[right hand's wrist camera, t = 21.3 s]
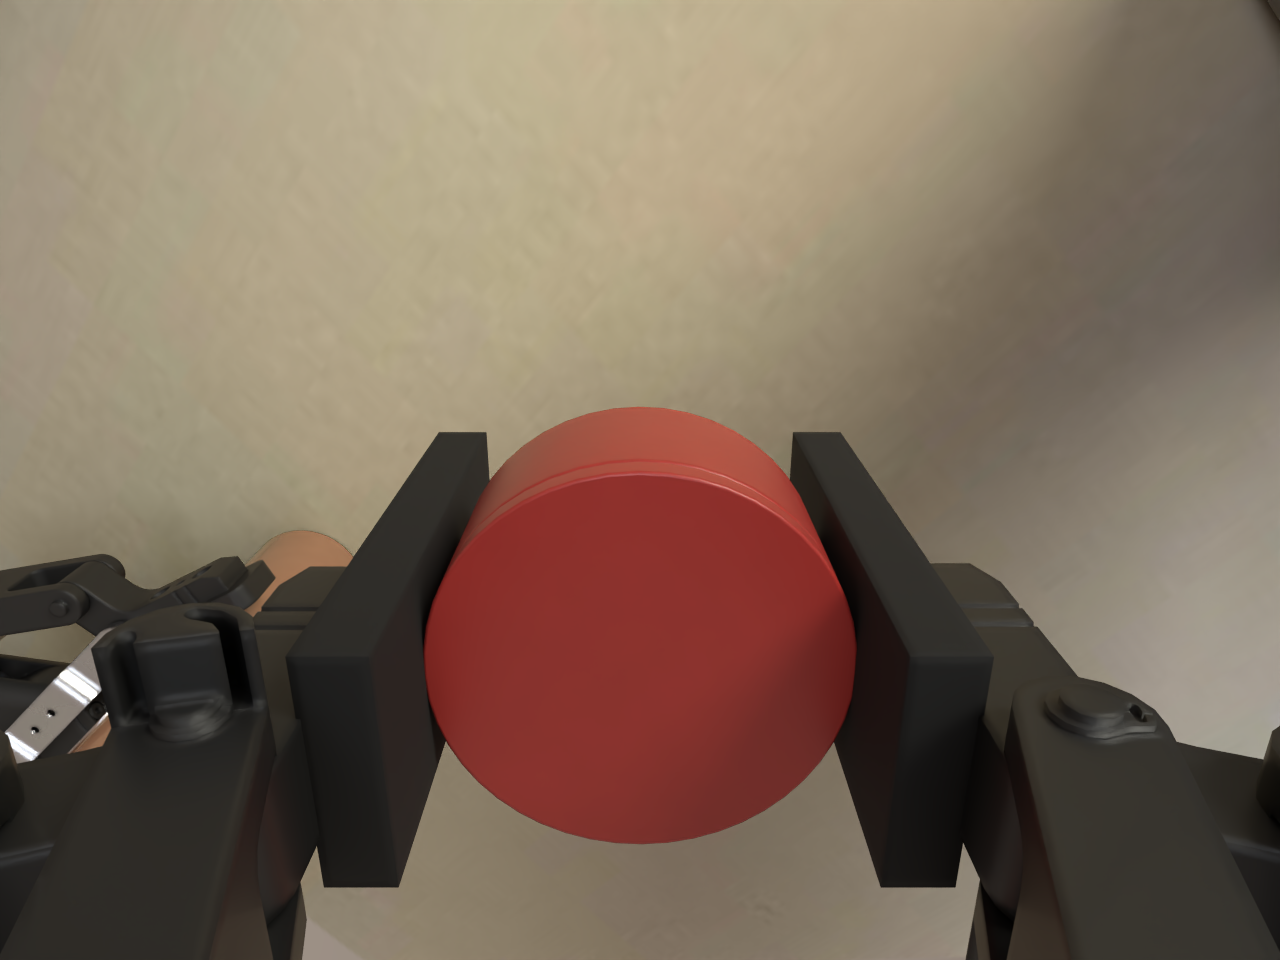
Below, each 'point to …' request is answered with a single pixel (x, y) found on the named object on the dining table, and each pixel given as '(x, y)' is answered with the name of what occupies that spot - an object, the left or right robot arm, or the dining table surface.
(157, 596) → the left robot arm
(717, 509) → the lid
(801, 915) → the dining table surface
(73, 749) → the tan tall cylinder
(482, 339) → the dining table surface
